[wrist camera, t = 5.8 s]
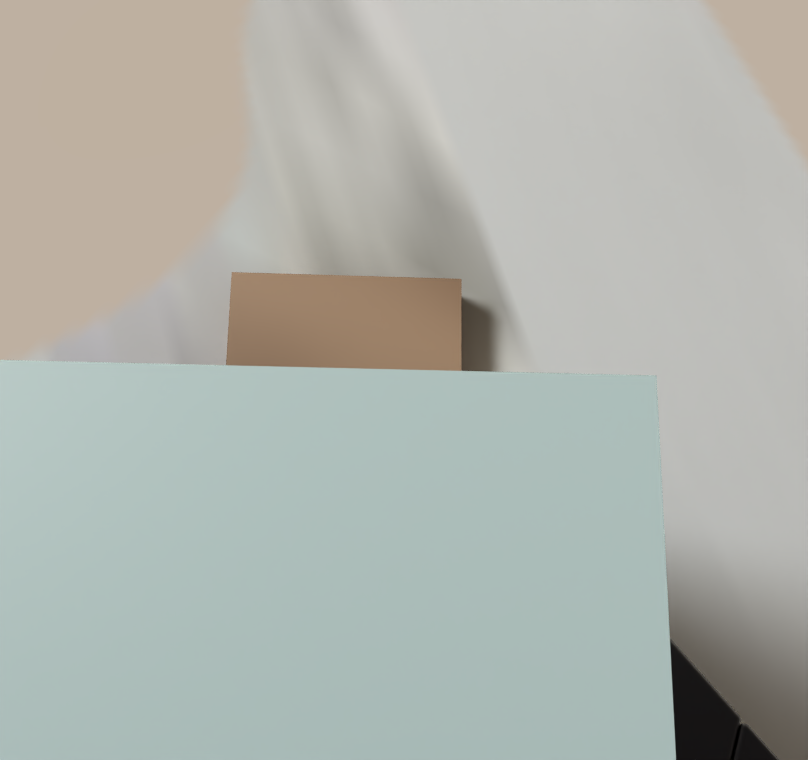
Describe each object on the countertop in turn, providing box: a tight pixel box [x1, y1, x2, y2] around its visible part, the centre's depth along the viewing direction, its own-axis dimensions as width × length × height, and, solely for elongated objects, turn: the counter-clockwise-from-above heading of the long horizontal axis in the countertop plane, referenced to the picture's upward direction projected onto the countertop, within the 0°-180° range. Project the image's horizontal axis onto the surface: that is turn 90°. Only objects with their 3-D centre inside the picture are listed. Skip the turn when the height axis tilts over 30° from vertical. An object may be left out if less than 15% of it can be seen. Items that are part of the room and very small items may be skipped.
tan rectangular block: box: [226, 272, 461, 371], centre depth 13 cm, size 10×5×4 cm, turn 179°
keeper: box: [0, 360, 676, 760], centre depth 8 cm, size 4×4×10 cm
